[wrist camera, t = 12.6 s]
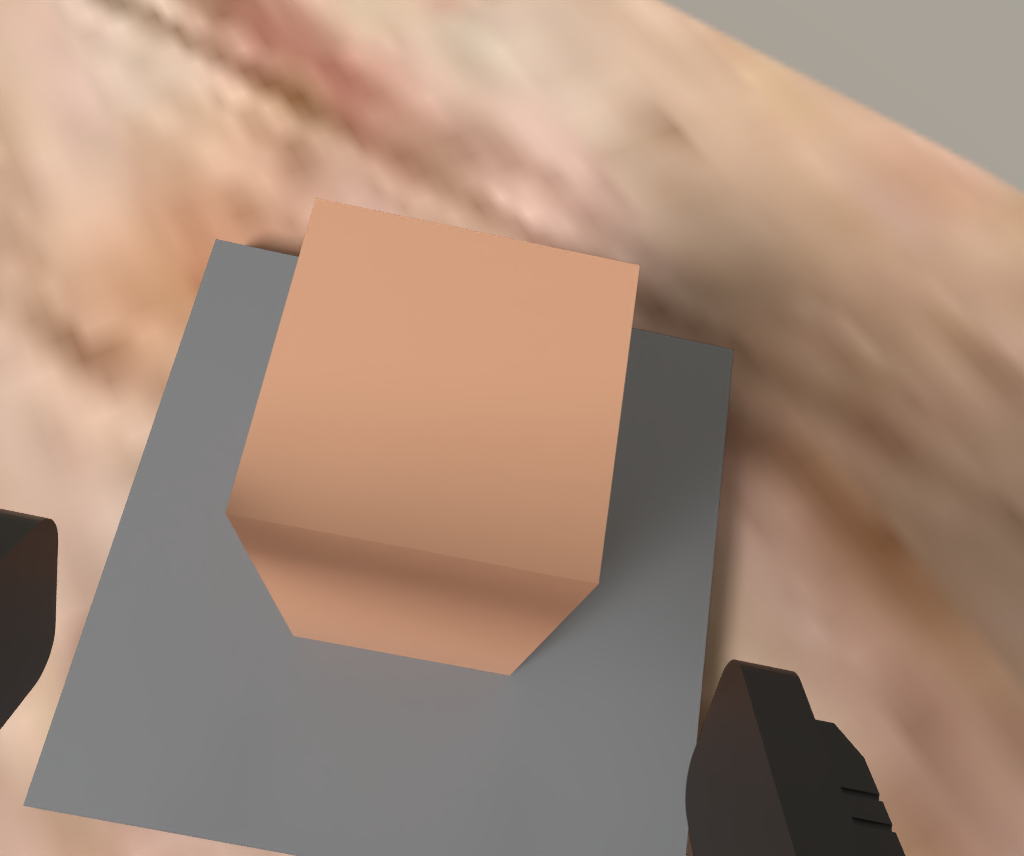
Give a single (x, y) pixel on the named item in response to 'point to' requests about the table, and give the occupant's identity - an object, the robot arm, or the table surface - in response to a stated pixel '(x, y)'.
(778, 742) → the robot arm
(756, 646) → the table surface
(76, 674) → the slate tile
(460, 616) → the terracotta block
